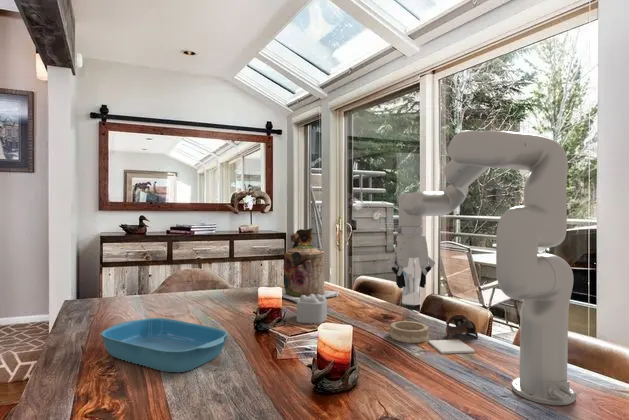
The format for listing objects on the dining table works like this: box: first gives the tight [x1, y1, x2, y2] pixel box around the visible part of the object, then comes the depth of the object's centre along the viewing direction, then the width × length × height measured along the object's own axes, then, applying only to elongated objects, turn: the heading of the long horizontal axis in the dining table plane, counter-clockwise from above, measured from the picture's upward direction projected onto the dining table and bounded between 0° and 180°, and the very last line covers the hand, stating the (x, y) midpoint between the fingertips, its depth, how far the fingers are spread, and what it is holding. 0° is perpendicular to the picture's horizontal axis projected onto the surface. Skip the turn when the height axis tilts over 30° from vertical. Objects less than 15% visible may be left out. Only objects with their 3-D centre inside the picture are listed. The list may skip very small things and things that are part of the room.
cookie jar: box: [281, 227, 340, 303], centre depth 198 cm, size 25×25×32 cm
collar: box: [389, 320, 429, 344], centre depth 137 cm, size 12×12×4 cm
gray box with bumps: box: [296, 294, 328, 325], centre depth 158 cm, size 10×13×9 cm
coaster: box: [427, 339, 476, 355], centre depth 127 cm, size 10×10×1 cm
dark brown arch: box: [445, 313, 479, 339], centre depth 139 cm, size 12×10×8 cm
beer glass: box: [401, 257, 422, 306], centre depth 136 cm, size 7×7×15 cm
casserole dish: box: [100, 317, 229, 373], centre depth 118 cm, size 37×22×7 cm, turn 63°
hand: (411, 286), depth 136 cm, fingers closed on beer glass, 6 cm apart
